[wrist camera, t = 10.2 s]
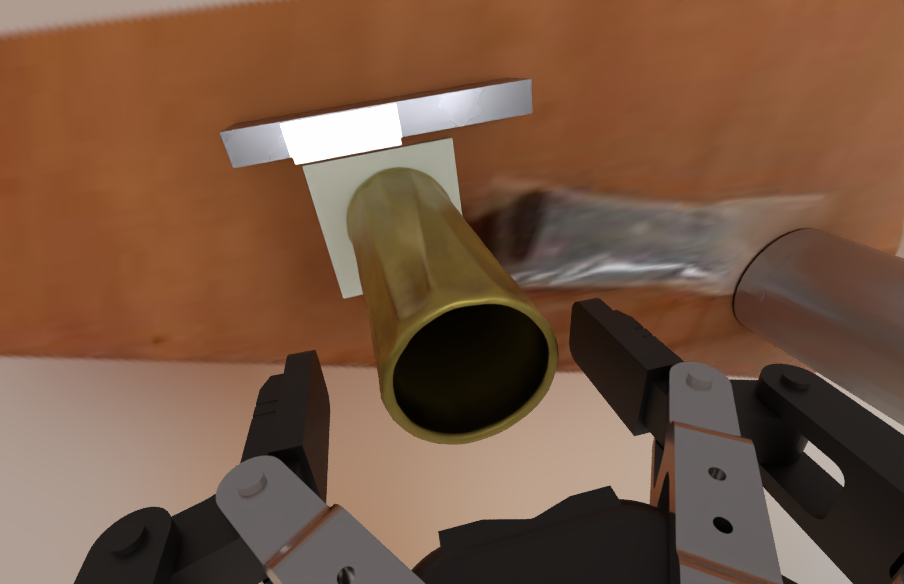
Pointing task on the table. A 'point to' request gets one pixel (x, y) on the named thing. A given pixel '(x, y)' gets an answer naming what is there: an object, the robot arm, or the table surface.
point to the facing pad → (345, 175)
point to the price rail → (373, 123)
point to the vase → (444, 315)
